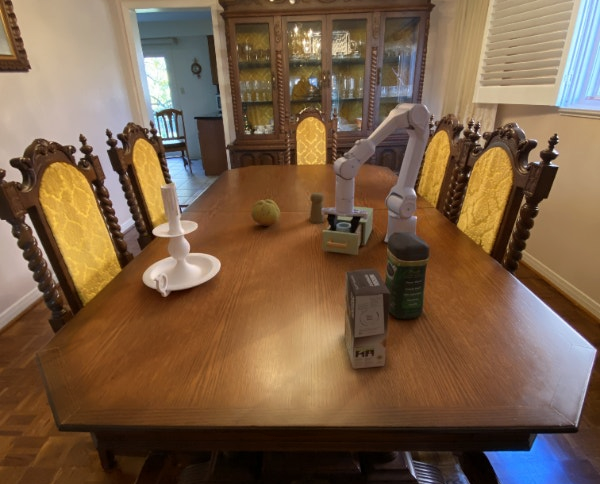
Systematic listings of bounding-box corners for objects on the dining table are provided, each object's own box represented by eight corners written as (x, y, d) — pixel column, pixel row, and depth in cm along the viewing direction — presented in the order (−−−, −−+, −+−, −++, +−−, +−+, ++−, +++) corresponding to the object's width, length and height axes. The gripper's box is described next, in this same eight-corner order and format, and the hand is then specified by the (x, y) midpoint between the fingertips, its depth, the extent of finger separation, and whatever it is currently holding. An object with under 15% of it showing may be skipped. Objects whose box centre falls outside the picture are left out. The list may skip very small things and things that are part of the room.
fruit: (246, 229, 131) (244, 203, 127) (261, 218, 141) (259, 195, 137) (272, 232, 127) (271, 206, 123) (285, 221, 137) (284, 197, 133)
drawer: (354, 261, 103) (355, 240, 100) (317, 255, 106) (317, 236, 104) (365, 238, 118) (366, 219, 116) (333, 234, 122) (333, 216, 119)
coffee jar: (427, 319, 78) (437, 244, 71) (393, 322, 77) (400, 247, 70) (409, 295, 87) (416, 227, 80) (378, 298, 86) (383, 229, 79)
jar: (352, 239, 114) (353, 223, 112) (349, 245, 109) (349, 229, 107) (338, 237, 115) (338, 221, 113) (334, 243, 111) (334, 227, 109)
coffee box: (386, 366, 65) (392, 293, 59) (352, 369, 65) (355, 296, 59) (372, 334, 74) (376, 267, 68) (342, 336, 73) (344, 270, 67)
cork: (323, 223, 134) (323, 196, 130) (308, 222, 135) (307, 195, 131) (325, 217, 140) (325, 191, 136) (311, 217, 141) (310, 191, 137)
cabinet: (364, 245, 114) (365, 222, 111) (327, 241, 118) (328, 218, 115) (372, 229, 127) (373, 208, 124) (338, 226, 131) (338, 205, 128)
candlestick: (120, 309, 84) (92, 200, 74) (164, 261, 107) (148, 173, 97) (202, 311, 83) (185, 200, 72) (229, 262, 106) (219, 172, 95)
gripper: (318, 198, 106) (318, 239, 111) (365, 202, 101) (363, 245, 106) (324, 192, 112) (324, 231, 117) (369, 196, 107) (367, 236, 112)
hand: (343, 237), depth 112 cm, fingers closed on jar, 5 cm apart
